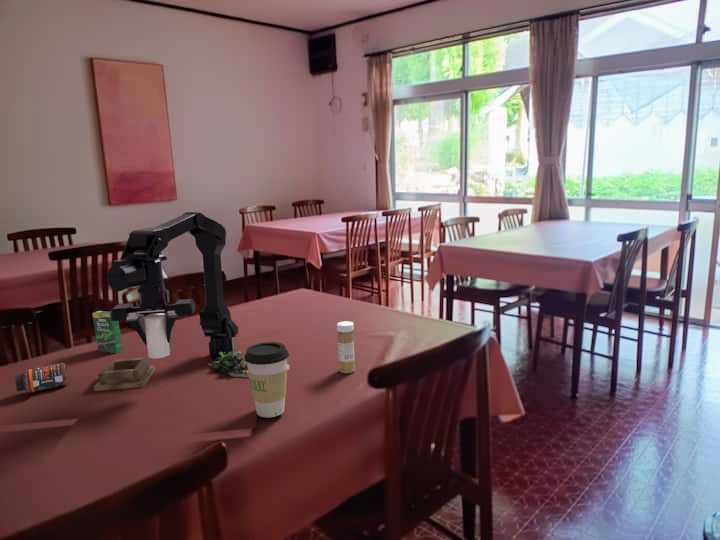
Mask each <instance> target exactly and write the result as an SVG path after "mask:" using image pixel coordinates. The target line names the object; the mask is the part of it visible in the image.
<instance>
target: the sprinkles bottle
mask: <svg viewBox="0 0 720 540" xmlns="http://www.w3.org/2000/svg"><path fill="white" fill-rule="evenodd" d="M336 332H337V349H338V351H337V353H338V356H337V357H338V372H340V373H342V374H351V373H354V372H355V371H356V366H355V364H356V362H355V358H356V356H355V340H354V339H355V338H354V332H355V328H354V322H353V321H349V320H345V321H339V322H337V323H336Z"/></svg>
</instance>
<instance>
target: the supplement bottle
mask: <svg viewBox="0 0 720 540" xmlns="http://www.w3.org/2000/svg"><path fill="white" fill-rule="evenodd" d="M68 383H69V380H68V372H67V366H66V364H65V363H64V362H60V363H56V364H50V365H45V366H40V367H35V368H30V369H27V370H25V371H24V372H23V373H22V374H19V375H15V376H14V385H15V391H16V392H22V391H26V392H28V393H36V392H41V391H45V390H50V389H55V388H58V387H63V386H66V385H68Z"/></svg>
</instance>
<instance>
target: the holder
mask: <svg viewBox="0 0 720 540" xmlns="http://www.w3.org/2000/svg"><path fill="white" fill-rule="evenodd" d="M150 364H151V363H150V358H149V357H148V356H147V357H146V356H145V357H133V358H122V359H121V358H120V359H110V361H108V362H107V364H105V366H103V368H102V369H101V370H100V371H99V372H98V373H97V377H98V378H97V379H98V382H96V384H94V385H93V390H94V392H101V391H110V390H111V391H113V390H123V389H126V390H127V389H133V388H144V387H146V384H147V383H148V381H149V380H150V378H151V377H152V375H153V373H154V372H155V370H156V367H155V365H150Z"/></svg>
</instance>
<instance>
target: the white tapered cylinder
mask: <svg viewBox="0 0 720 540" xmlns="http://www.w3.org/2000/svg"><path fill="white" fill-rule="evenodd" d="M166 318H167V317H166V314H165V313H152V314H146V315H144V324H145V332H146V340H147V345H146V348H147V355H148V356H147V357H149V359H161V358H165V357H168V356H169V355H170V354H171V350H170V349H171V348H170V343H168V341H167V329H166Z"/></svg>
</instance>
